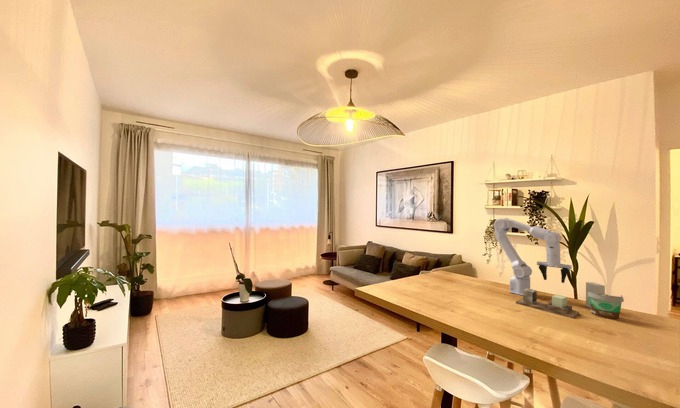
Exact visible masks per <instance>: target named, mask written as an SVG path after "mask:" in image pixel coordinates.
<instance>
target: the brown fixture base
mask: <svg viewBox="0 0 680 408" xmlns="http://www.w3.org/2000/svg"><path fill="white" fill-rule="evenodd" d="M537 295H538V294H537V290H536V289H533V288H532V289H531V288H530V289H528V288H527V289H524V290H523V295H522V298H520V299H518V300H516V301H515V304H517V305H521V306H525V307H529V308H533V309H535V310H540V311H544V312H548V313H552V314H556V315H558V316H563V317H567V318H571V319H574V318H577V316H578V315H580V311H578V310H573V305H571V304H567V307H566V308H565V309H564V308H560V307H556V306H552V305H551V301H549V302H547V303H546V302H541V301H538V300H537Z"/></svg>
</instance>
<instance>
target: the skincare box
mask: <svg viewBox="0 0 680 408" xmlns="http://www.w3.org/2000/svg"><path fill="white" fill-rule="evenodd" d="M589 292H591V293H594V294H606V286H605V285H604V284H600V283H596V282H590V281H589V282H585V306H586V307H588V308H589V309H591V306H590V298H589V296H587V295H588V293H589Z"/></svg>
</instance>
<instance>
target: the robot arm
mask: <svg viewBox="0 0 680 408" xmlns="http://www.w3.org/2000/svg"><path fill="white" fill-rule="evenodd" d="M492 225H493V226H492V227H494V236H495V238H496V240H497V242H498V243H499V244H500V245H499V246H501V248H502V250H503V251H504V253H505V255H506V256H507V258H508V259H509V261H510V263H511V268H512V271H513V272H512V273H513V275H512V276H510V278H509V291H508V293H511V294H516V295H520V296H523V290H524V289H527V288H528V289H531V277H530V276H531V275H532V274H533V269H532V268H531V267H530V266H529V265H528V264H527V263H526V262H525V261H523V260H522V259H521V257H520V256H519V254H518V252H517V251H516V249H515V248H514V246H513V244H512V242H511V241H510V239H509V238H508V235H507V234H508V231H509V230H510V229H511V228H515V229H519V230H522V231H524V232H527V233H529V234H530V236H531V237H534V238H537V239H539V240H543V241H545V245H546V247H545V248H546V261H538V260H537V261H536V266H538V270H540V273H541V274H542V277H543V281H546V280H548V279H547V277H548V275H547V271H548V267H549V268H557V269H560V275H561V277H560V278H561V284H565V281H566V278H567V275H568V274H569V272H570V271H571V270H572V269H573V266H572V264H571V265H570V264H564V263H561V247H560V246H561V245H560V243H561V242H560V241H561V240H562V235H561V234H560V233H559V232H557V231H552V230H551V229H545V228H542V226H540V225H534V226H530V225H527V224H525V223H523V222H520V221H517V220H515V219H510V218H507V217H506V218H497V219H496V220H495V221H494V222H493V224H492Z"/></svg>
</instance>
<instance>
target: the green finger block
mask: <svg viewBox="0 0 680 408" xmlns="http://www.w3.org/2000/svg"><path fill="white" fill-rule="evenodd" d="M550 299H551V301H550V302H551V305H552V306H556V307H560V308H564V309H565V308H566V307H567V305H568V297H567V296H563V295H560V294H555V295H552V296H551V298H550Z"/></svg>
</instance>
